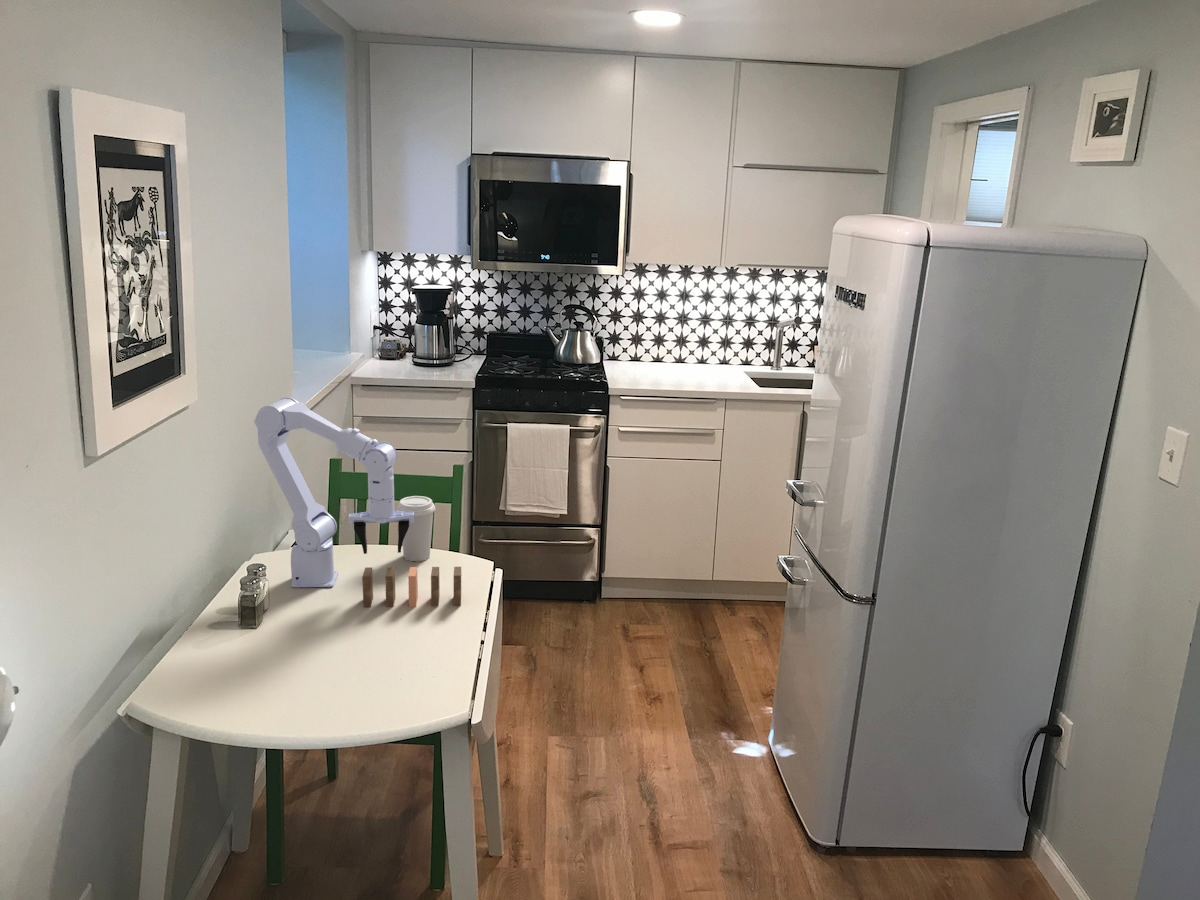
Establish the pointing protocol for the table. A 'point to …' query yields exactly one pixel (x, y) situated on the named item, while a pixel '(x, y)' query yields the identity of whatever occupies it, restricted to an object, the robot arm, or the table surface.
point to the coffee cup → (418, 527)
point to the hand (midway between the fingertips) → (382, 551)
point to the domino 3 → (413, 587)
